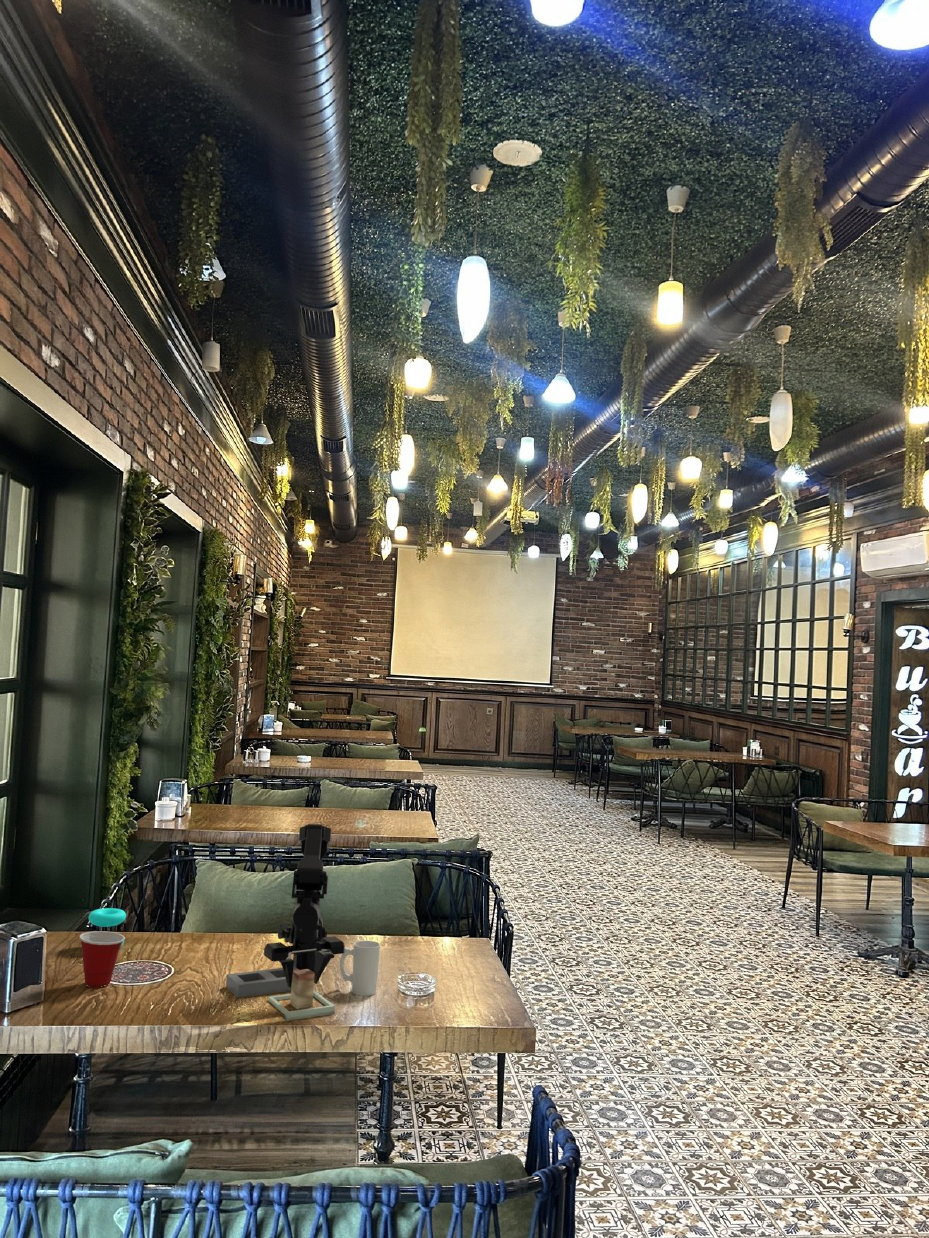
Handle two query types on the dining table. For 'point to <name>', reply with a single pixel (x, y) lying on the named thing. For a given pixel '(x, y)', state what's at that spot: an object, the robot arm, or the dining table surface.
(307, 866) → the robot arm
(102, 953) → the plastic cup
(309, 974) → the plug
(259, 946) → the dining table surface
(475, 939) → the dining table surface
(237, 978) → the grey cinder block
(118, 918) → the donuts
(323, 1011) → the tray
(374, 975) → the mug
